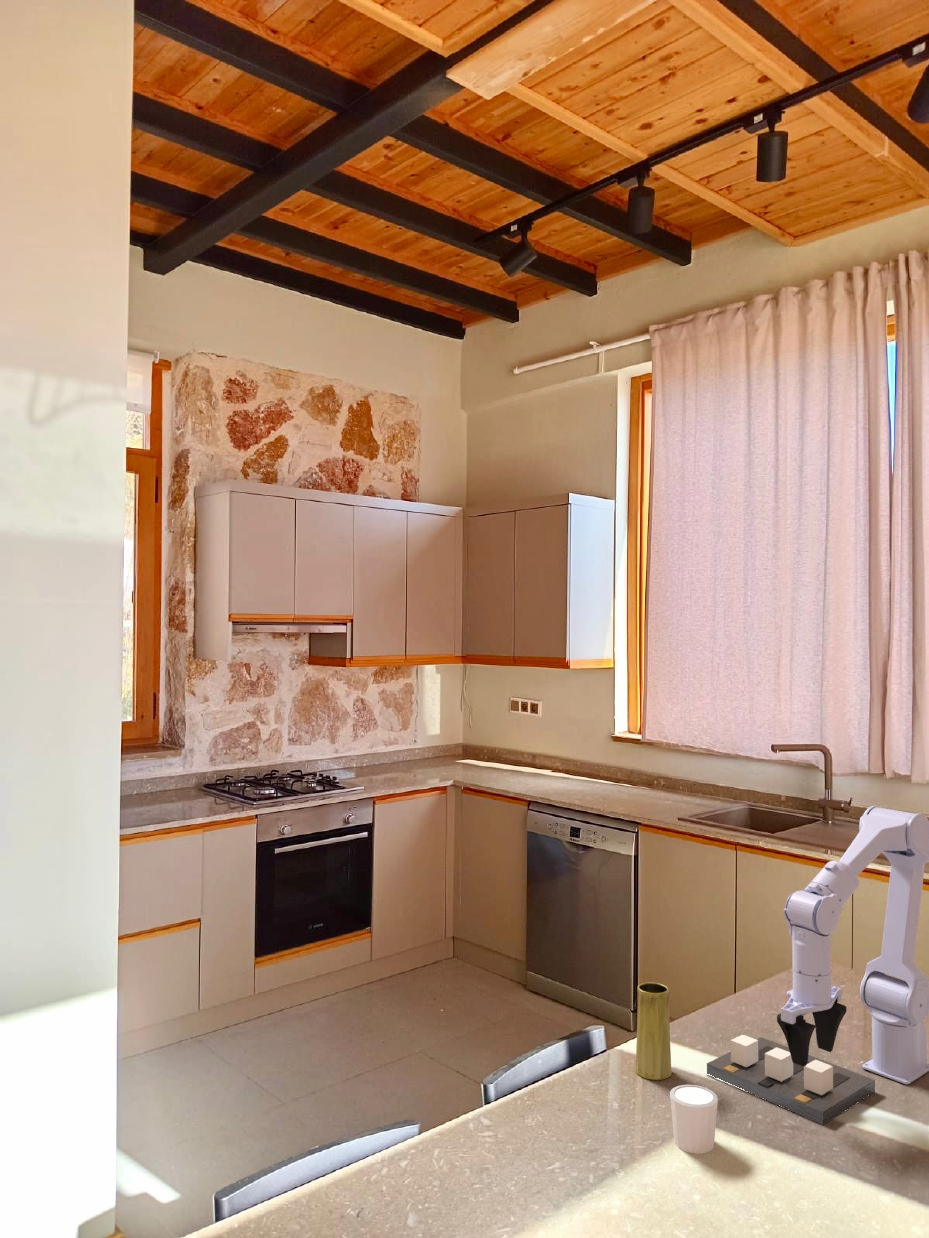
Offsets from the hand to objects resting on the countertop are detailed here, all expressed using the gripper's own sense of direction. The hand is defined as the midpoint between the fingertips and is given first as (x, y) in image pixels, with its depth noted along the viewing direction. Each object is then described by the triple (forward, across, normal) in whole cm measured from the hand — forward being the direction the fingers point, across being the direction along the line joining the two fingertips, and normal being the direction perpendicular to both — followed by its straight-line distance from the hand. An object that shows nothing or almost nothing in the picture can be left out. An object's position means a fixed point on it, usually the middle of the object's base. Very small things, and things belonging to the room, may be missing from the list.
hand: (812, 1056), depth 149 cm
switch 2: (+6, -1, -6) cm, 9 cm away
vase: (+8, +10, -24) cm, 27 cm away
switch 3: (+6, -2, 0) cm, 6 cm away
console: (+8, -4, -6) cm, 11 cm away
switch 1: (+6, -1, -13) cm, 14 cm away
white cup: (+8, +23, -6) cm, 25 cm away
